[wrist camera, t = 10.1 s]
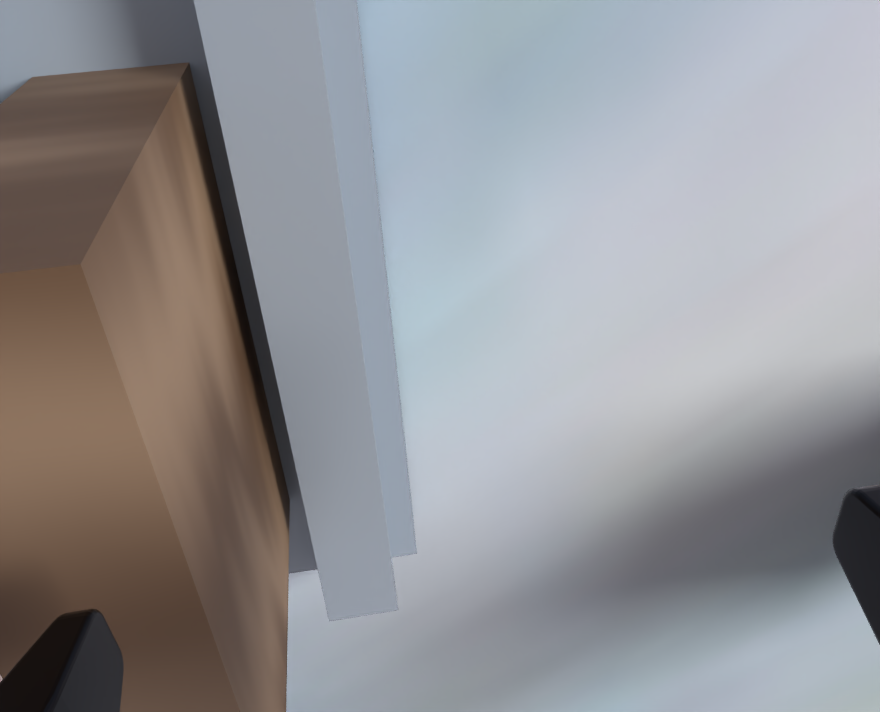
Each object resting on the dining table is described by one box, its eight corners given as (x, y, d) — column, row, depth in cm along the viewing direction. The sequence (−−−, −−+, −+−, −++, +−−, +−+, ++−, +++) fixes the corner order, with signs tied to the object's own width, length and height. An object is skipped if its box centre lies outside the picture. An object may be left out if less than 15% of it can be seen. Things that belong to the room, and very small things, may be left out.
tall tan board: (289, 499, 22) (283, 833, 14) (181, 516, 22) (117, 864, 14) (189, 62, 15) (80, 264, 8) (29, 77, 15) (-243, 301, 7)
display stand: (412, 525, 25) (425, 605, 22) (96, 573, 24) (70, 663, 21) (339, -129, 15) (348, -125, 12) (-210, -89, 14) (-330, -76, 11)
